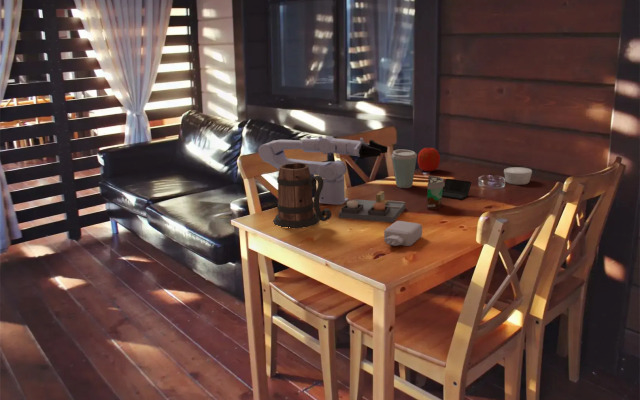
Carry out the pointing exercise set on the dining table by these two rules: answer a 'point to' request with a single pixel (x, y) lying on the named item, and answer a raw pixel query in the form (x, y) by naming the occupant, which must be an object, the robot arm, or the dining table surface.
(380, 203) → the terracotta button
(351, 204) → the cream button
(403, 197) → the dining table surface
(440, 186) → the food container
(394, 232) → the grey plastic bottle
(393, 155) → the disposable coffee cup
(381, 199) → the tall mustard sponge block
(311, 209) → the tankard
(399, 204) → the control panel
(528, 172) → the ramekin
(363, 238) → the dining table surface
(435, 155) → the apple
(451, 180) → the handheld gaming console
